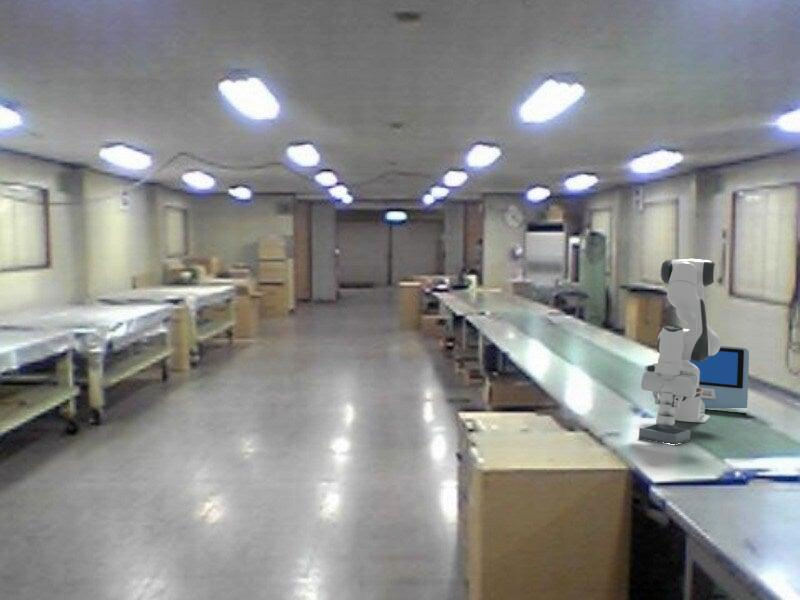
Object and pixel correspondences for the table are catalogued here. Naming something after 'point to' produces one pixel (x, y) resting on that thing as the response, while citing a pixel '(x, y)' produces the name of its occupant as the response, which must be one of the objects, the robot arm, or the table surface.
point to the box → (664, 434)
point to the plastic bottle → (666, 407)
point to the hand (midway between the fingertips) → (666, 405)
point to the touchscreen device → (725, 378)
